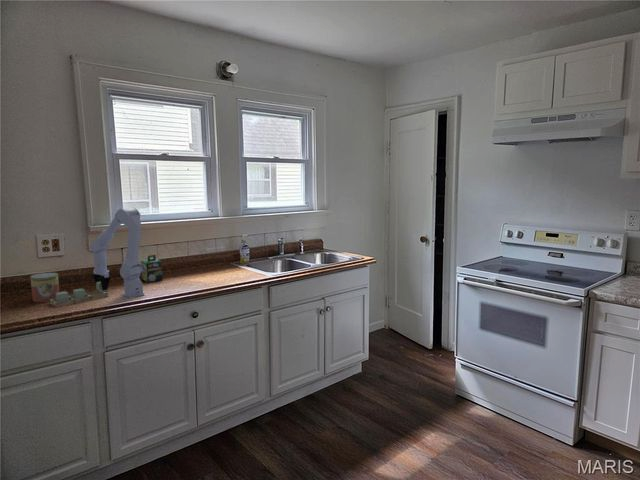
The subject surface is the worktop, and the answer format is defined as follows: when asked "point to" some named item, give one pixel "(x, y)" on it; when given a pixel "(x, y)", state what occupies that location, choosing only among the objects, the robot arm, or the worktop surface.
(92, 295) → the rack
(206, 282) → the worktop surface
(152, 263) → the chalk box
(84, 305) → the worktop surface
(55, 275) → the canned food
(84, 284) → the worktop surface
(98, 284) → the loose block
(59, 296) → the seated block
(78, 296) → the seated block
